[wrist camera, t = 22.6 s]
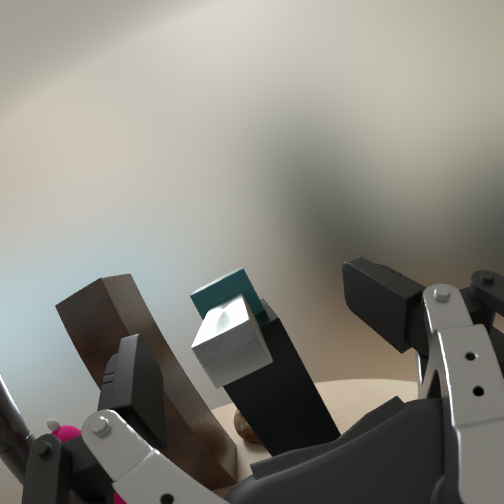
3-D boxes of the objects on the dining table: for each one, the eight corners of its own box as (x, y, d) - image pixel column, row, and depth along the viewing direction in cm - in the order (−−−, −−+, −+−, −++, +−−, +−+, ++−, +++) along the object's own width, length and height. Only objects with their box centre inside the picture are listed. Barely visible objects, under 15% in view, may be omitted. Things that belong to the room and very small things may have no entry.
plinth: (188, 496, 28) (54, 305, 28) (194, 458, 38) (90, 296, 38) (237, 482, 28) (100, 277, 28) (235, 444, 38) (130, 273, 38)
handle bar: (198, 397, 12) (154, 326, 12) (215, 324, 28) (196, 289, 28) (293, 352, 12) (252, 276, 12) (259, 301, 28) (241, 266, 28)
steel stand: (316, 509, 19) (203, 355, 19) (297, 459, 29) (212, 324, 29) (367, 484, 20) (278, 317, 19) (338, 438, 30) (263, 298, 29)
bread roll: (273, 420, 47) (241, 396, 48) (308, 396, 42) (272, 368, 44) (253, 457, 38) (215, 429, 39) (290, 437, 34) (248, 406, 35)
